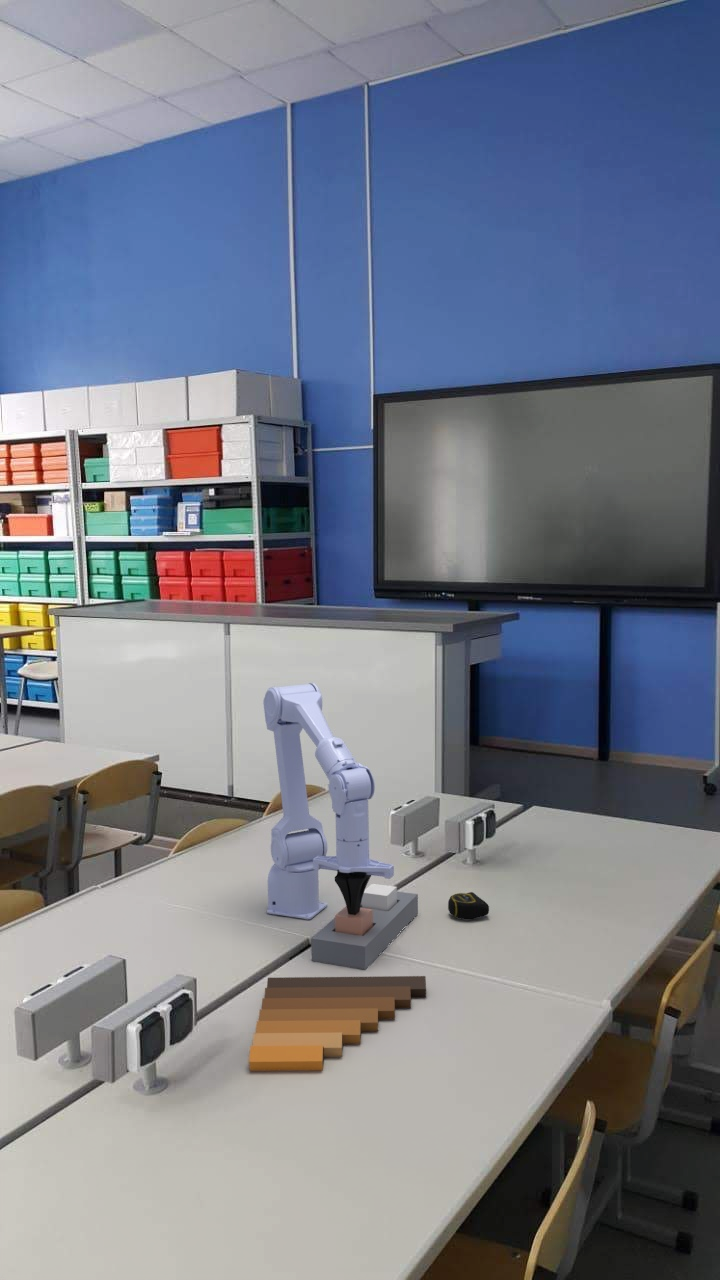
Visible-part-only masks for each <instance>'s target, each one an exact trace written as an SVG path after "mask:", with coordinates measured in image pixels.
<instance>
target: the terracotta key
mask: <svg viewBox="0 0 720 1280" xmlns="http://www.w3.org/2000/svg"><path fill="white" fill-rule="evenodd" d="M334 918H335V932H340V933H347V934H353V935H360V936H364V935H365V934H366V933H367V932H368V931H369V930H370V929H371V928H372V927H373V909H367V908H360V911H359V912H358V913H357V914H356V915H351V914H348V910H347V906H346V905H345V907H343V908H342V909H341V910H340V911H339V912H337V914H335V915H334Z"/></svg>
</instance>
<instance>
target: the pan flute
mask: <svg viewBox="0 0 720 1280" xmlns="http://www.w3.org/2000/svg"><path fill="white" fill-rule="evenodd" d="M426 979H427V978H426V975H413V976H412V975H411V976H410V975H409V976H407V975H406V976H405V975H403V976H402V975H401V976H400V975H399V976H397V975H395V976H394V975H393V976H391V975H390V976H386V975H385V976H317V977H316V976H311V977H310V976H308V977H307V976H302V977H301V976H299V977H298V976H297V977H296V976H295V977H267V981H266V982H267V983H266V984H267V985H266V987H264V995H263V997H264V998H263V997H262V999H261V1000H262V1001H261V1009H259V1013H258V1014H259V1015H258V1020H257V1021H256V1026H255V1033H253V1038H252V1045H250V1047H249V1055H248V1057H249V1058H248V1064H249V1065H248V1066H249V1071H255V1072H256V1071H257V1072H259V1071H261V1072H262V1071H263V1072H265V1071H267V1072H269V1071H270V1072H271V1071H323V1070H324V1063H325V1057H327V1058H329V1057H331V1058H332V1057H336V1058H337V1057H338V1058H339V1057H343V1051H344V1044H347V1045H348V1044H351V1045H352V1044H356V1045H357V1044H362V1043H361V1042H362V1032H378V1031H379V1020H395V1019H396V1014H395V1013H396V1010H395V1009H411V1007H412V1000H411V998H427V981H426Z"/></svg>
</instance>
